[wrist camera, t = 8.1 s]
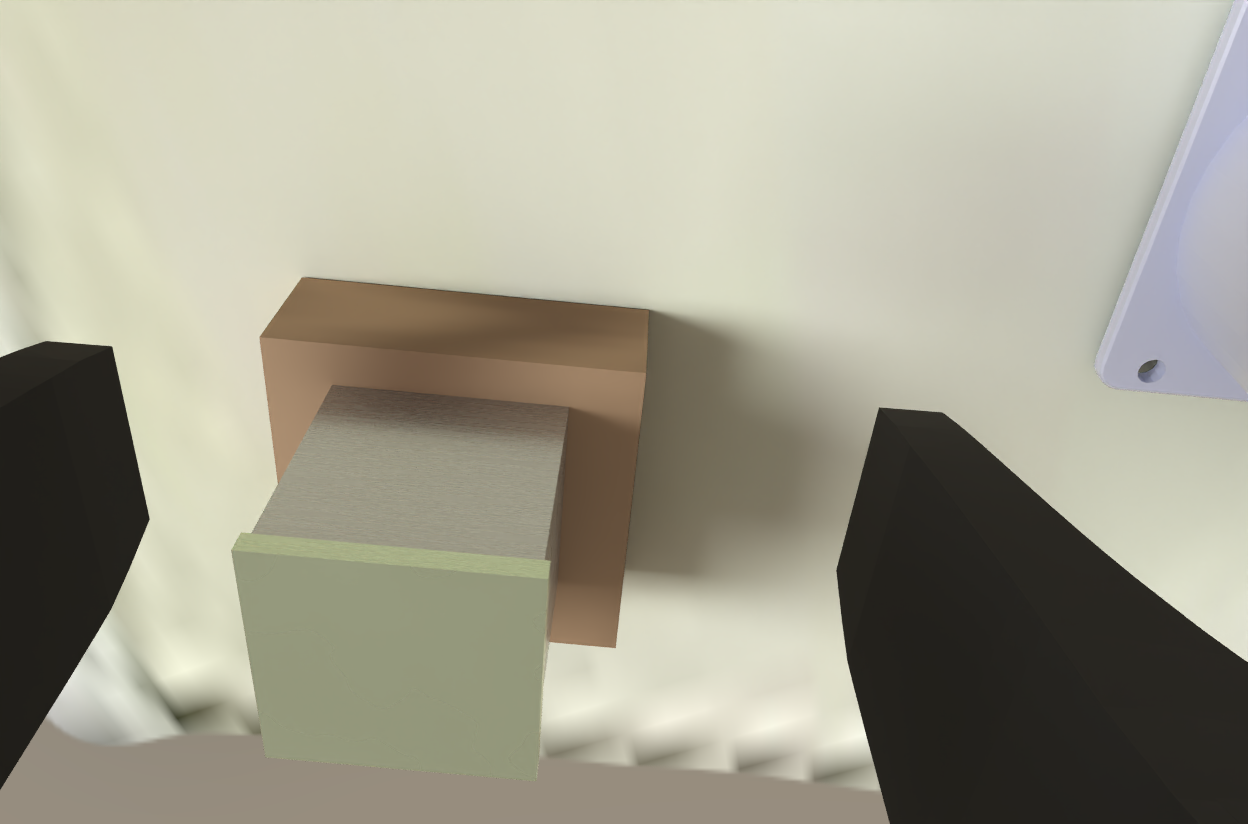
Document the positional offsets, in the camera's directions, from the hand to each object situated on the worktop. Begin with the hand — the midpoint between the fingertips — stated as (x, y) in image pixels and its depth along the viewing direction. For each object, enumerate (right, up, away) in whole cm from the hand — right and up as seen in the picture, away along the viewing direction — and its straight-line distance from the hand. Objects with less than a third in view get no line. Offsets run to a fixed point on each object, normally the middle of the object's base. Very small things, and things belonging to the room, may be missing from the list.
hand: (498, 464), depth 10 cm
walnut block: (-2, 0, +13) cm, 13 cm away
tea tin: (-2, -1, +10) cm, 11 cm away
